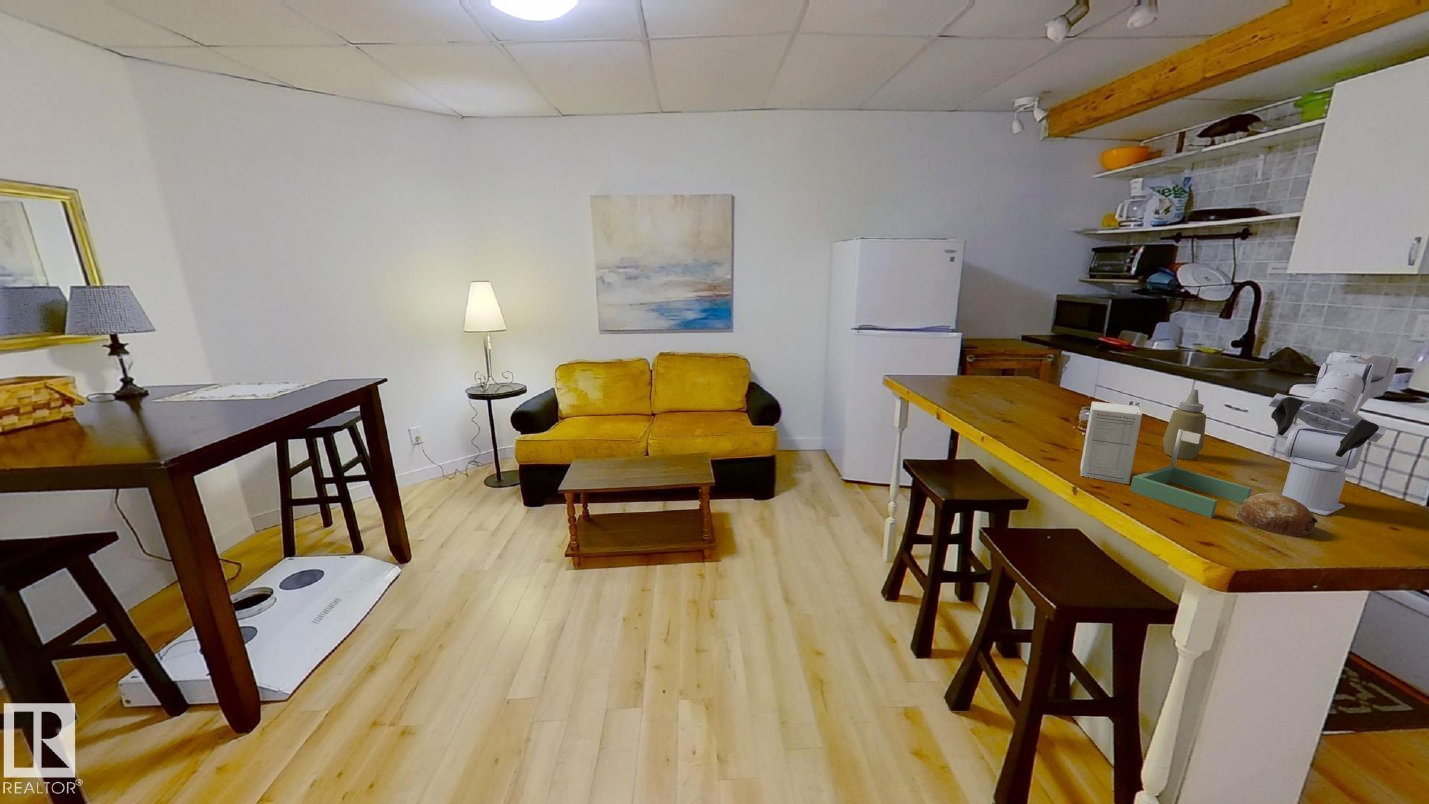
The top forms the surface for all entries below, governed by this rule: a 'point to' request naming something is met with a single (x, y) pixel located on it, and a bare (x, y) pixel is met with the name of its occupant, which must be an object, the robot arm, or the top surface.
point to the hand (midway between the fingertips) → (1311, 441)
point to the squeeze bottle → (1186, 427)
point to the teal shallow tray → (1187, 484)
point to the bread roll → (1277, 514)
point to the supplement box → (1110, 442)
